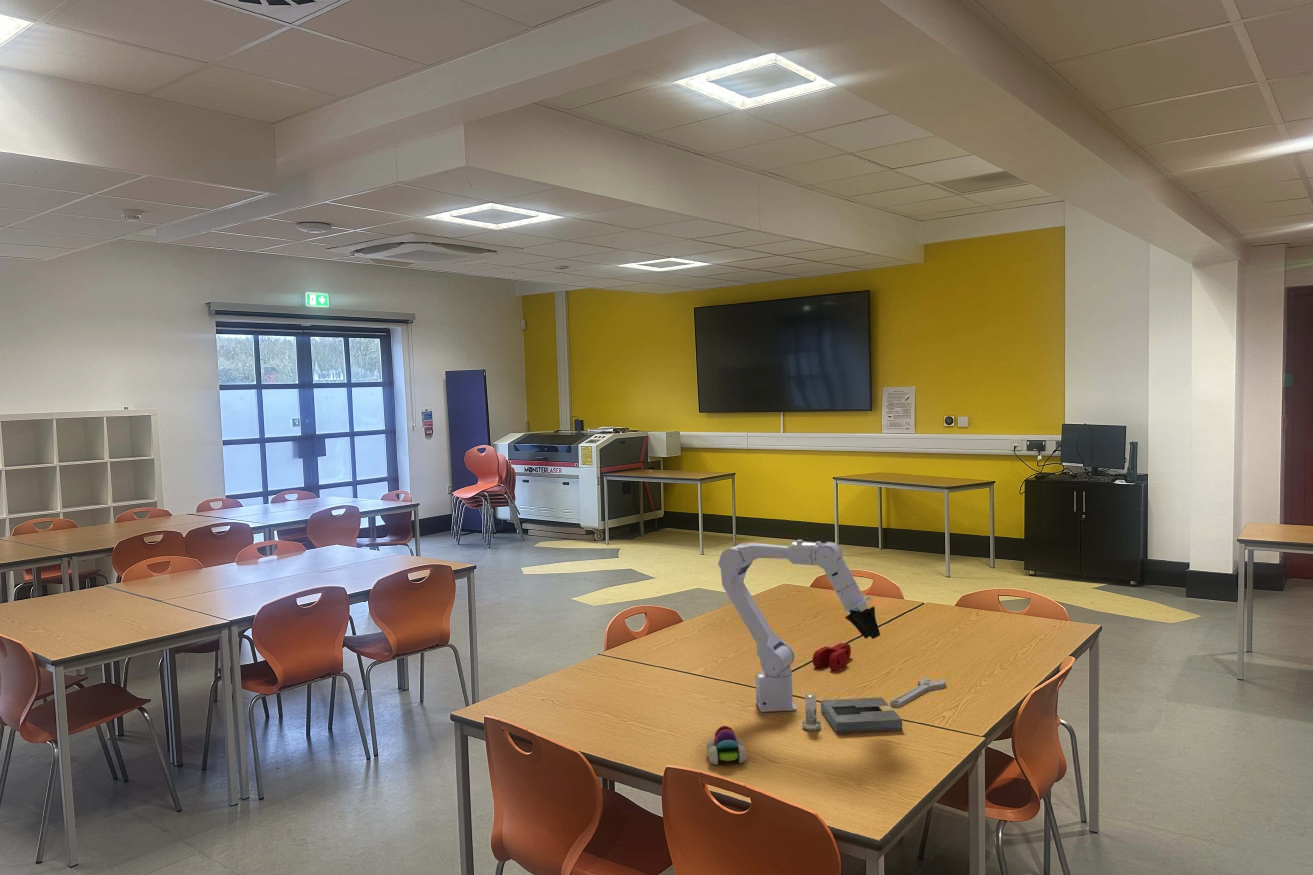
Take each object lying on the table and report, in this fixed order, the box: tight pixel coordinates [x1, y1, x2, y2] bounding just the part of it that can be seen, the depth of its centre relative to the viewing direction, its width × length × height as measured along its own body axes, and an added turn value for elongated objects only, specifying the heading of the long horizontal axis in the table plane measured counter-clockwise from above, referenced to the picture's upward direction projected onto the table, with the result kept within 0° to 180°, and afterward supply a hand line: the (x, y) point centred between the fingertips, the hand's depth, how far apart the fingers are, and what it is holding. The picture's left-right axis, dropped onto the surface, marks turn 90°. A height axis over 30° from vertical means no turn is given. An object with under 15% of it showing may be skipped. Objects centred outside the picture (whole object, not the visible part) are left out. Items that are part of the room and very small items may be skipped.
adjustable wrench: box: [889, 677, 946, 708], centre depth 234 cm, size 25×6×2 cm, turn 131°
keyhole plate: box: [820, 696, 903, 735], centre depth 215 cm, size 16×16×3 cm
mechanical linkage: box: [812, 642, 852, 671], centre depth 263 cm, size 16×7×5 cm, turn 142°
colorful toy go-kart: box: [706, 725, 748, 766], centre depth 194 cm, size 8×10×7 cm
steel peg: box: [801, 693, 822, 732], centre depth 211 cm, size 4×4×8 cm
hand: (872, 636), depth 215 cm, fingers open, 7 cm apart
